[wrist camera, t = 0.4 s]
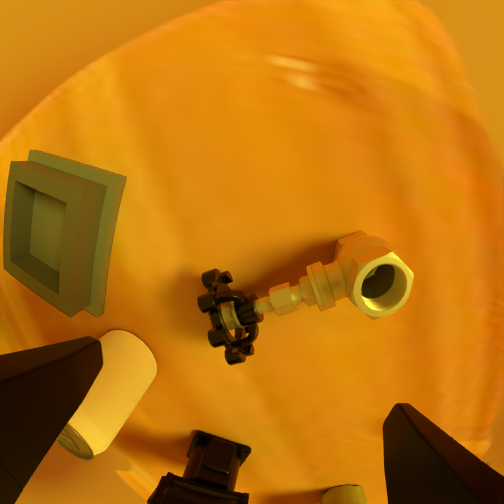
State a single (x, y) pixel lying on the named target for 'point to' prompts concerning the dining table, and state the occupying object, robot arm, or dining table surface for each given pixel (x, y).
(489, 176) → the dining table surface
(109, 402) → the can
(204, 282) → the valve
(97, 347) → the robot arm
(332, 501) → the plant pot
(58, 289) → the socket holder
